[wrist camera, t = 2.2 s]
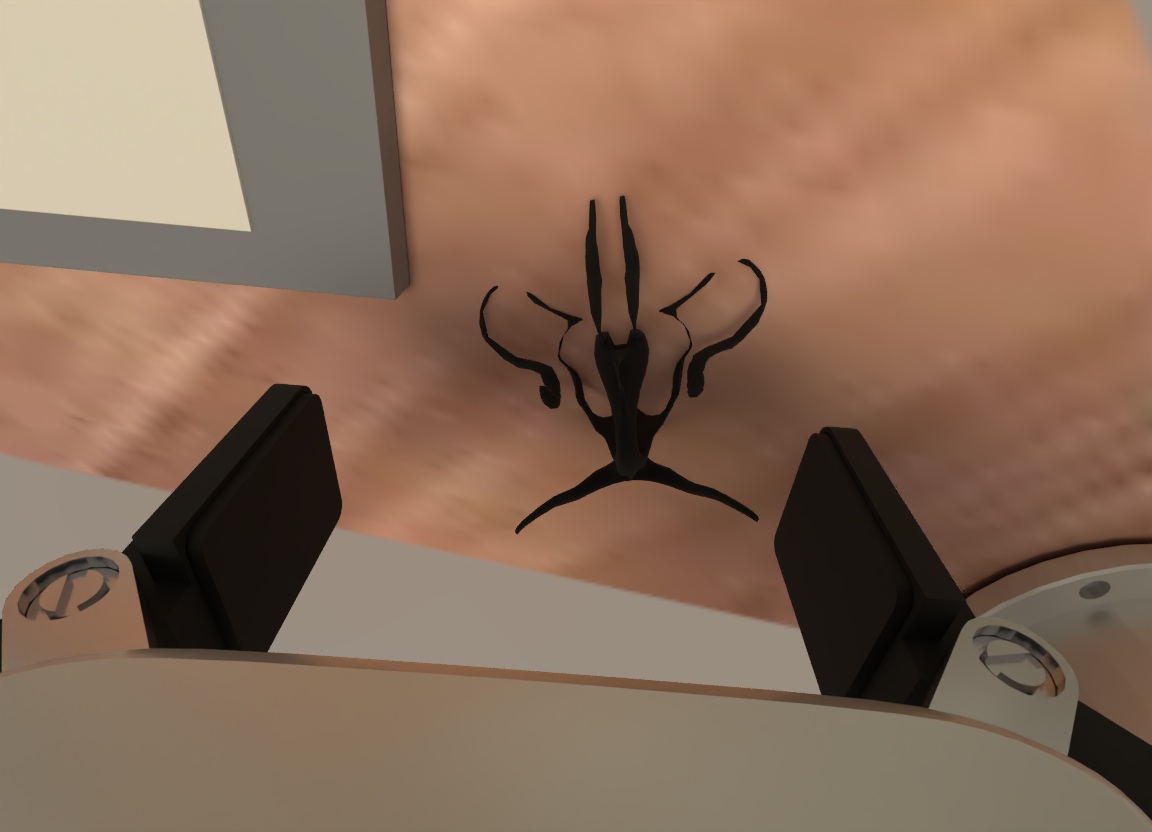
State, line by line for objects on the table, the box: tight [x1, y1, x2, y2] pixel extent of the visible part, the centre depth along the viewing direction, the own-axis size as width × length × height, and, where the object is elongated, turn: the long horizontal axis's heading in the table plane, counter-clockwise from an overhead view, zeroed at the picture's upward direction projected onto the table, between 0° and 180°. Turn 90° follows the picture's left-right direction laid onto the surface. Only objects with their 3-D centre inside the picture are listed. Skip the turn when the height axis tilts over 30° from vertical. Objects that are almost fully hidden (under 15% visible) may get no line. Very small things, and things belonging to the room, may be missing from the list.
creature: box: [479, 196, 767, 534], centre depth 15 cm, size 8×5×8 cm
